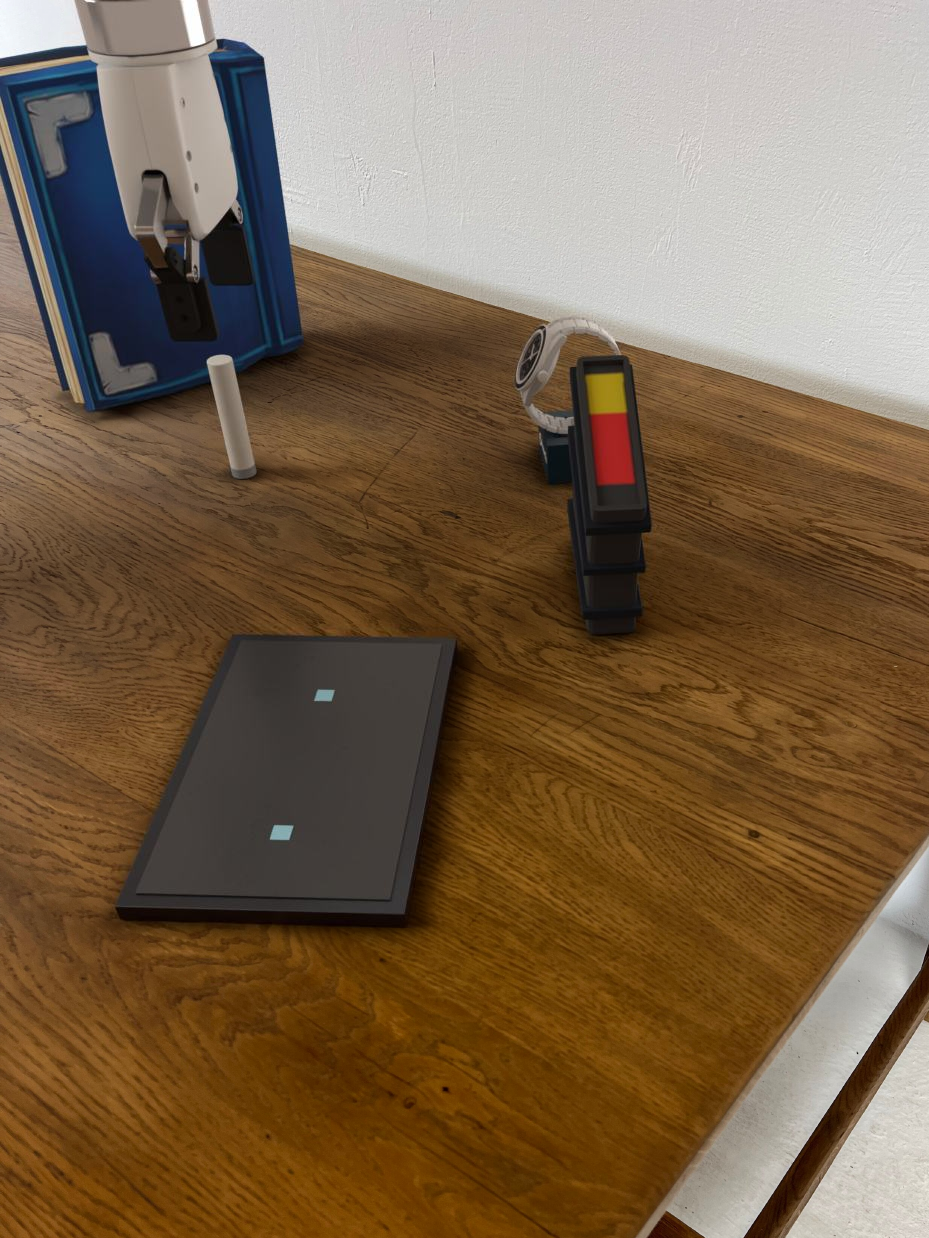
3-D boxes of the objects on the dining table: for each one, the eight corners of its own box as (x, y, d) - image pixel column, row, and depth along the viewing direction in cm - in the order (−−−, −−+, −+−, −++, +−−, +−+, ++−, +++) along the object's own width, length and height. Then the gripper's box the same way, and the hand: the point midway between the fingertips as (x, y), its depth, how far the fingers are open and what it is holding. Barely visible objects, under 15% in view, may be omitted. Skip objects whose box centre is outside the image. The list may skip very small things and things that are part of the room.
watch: (514, 451, 90) (507, 312, 83) (614, 443, 91) (617, 304, 84) (522, 486, 86) (516, 343, 79) (627, 477, 87) (631, 335, 80)
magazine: (616, 498, 81) (633, 349, 68) (634, 664, 77) (657, 540, 63) (563, 501, 81) (570, 352, 67) (579, 667, 76) (589, 544, 62)
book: (283, 328, 109) (228, 20, 92) (321, 352, 105) (271, 33, 88) (60, 394, 99) (-47, 60, 82) (93, 422, 95) (-13, 78, 78)
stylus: (229, 479, 88) (203, 364, 81) (235, 467, 89) (210, 354, 83) (253, 479, 87) (228, 365, 81) (259, 467, 89) (235, 354, 83)
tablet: (119, 919, 56) (112, 904, 55) (235, 646, 72) (231, 631, 71) (406, 927, 55) (404, 912, 54) (458, 650, 71) (456, 635, 70)
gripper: (132, -3, 75) (197, 266, 86) (30, 60, 62) (122, 364, 74) (245, -6, 74) (295, 264, 86) (166, 57, 62) (237, 363, 73)
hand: (215, 310), depth 80 cm, fingers open, 9 cm apart
